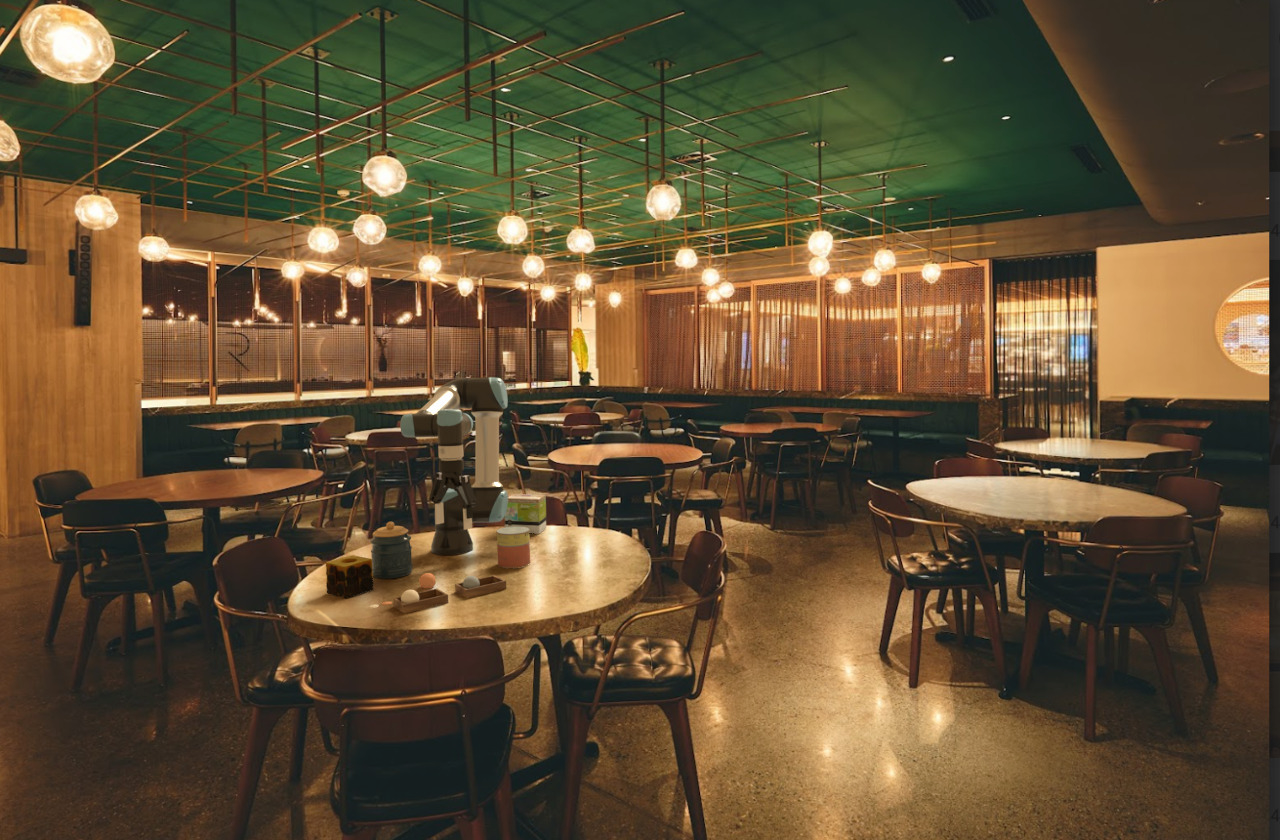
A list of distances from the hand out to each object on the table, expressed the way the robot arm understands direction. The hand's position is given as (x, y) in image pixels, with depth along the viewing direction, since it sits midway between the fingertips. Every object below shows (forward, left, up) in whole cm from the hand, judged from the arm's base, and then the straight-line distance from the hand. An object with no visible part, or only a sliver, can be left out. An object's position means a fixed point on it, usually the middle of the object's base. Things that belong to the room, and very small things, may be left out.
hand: (453, 526), depth 224 cm
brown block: (-17, -27, -19) cm, 37 cm away
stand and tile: (+1, -17, -19) cm, 25 cm away
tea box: (-48, +54, -19) cm, 74 cm away
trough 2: (+11, +3, -19) cm, 22 cm away
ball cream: (+11, -19, -18) cm, 29 cm away
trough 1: (+11, -16, -19) cm, 27 cm away
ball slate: (+11, 0, -18) cm, 22 cm away
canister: (-27, -10, -19) cm, 34 cm away
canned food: (-9, +26, -19) cm, 33 cm away
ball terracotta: (-3, -8, -19) cm, 21 cm away
